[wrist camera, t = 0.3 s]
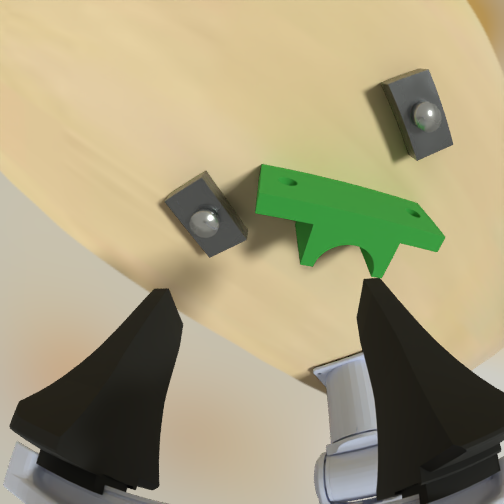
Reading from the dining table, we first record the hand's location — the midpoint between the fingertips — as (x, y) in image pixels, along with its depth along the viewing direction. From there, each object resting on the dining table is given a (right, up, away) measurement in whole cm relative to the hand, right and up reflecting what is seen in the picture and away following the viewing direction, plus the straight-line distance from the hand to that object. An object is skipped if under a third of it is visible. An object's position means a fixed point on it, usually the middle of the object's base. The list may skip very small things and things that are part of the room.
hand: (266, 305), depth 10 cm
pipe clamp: (+5, +5, +8) cm, 11 cm away
